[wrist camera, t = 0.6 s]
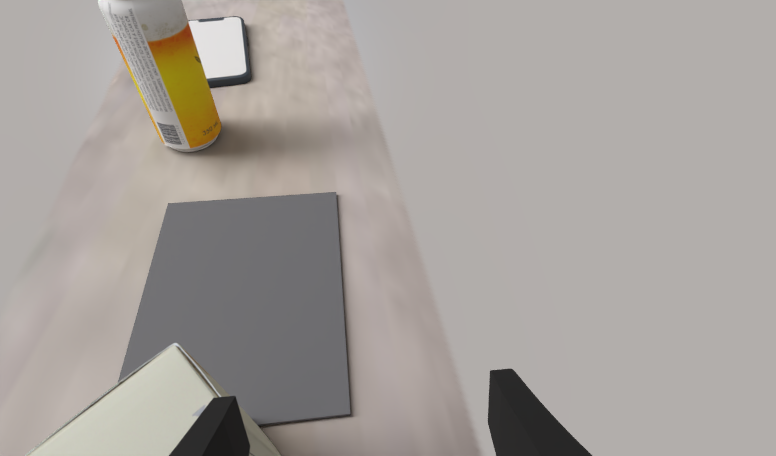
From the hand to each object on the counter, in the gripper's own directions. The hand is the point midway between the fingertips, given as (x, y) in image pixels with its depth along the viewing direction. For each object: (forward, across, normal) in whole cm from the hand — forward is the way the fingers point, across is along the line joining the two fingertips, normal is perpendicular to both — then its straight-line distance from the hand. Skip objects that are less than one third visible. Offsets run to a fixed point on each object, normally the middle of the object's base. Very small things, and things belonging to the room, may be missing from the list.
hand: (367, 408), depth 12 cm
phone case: (+54, +18, -7) cm, 57 cm away
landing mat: (+20, +10, +8) cm, 24 cm away
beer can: (+38, +18, 0) cm, 42 cm away
